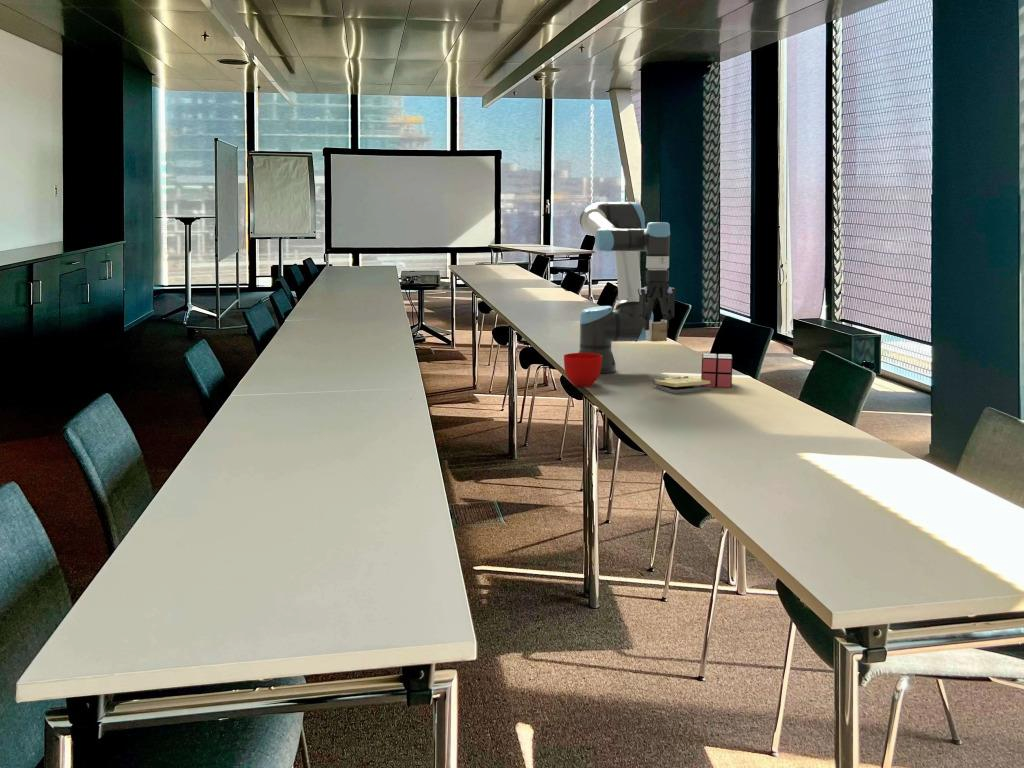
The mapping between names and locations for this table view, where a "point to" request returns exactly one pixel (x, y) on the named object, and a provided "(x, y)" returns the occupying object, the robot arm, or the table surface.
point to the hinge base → (680, 389)
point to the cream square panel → (682, 382)
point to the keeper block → (659, 331)
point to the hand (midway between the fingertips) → (656, 339)
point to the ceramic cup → (582, 368)
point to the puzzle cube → (717, 370)
